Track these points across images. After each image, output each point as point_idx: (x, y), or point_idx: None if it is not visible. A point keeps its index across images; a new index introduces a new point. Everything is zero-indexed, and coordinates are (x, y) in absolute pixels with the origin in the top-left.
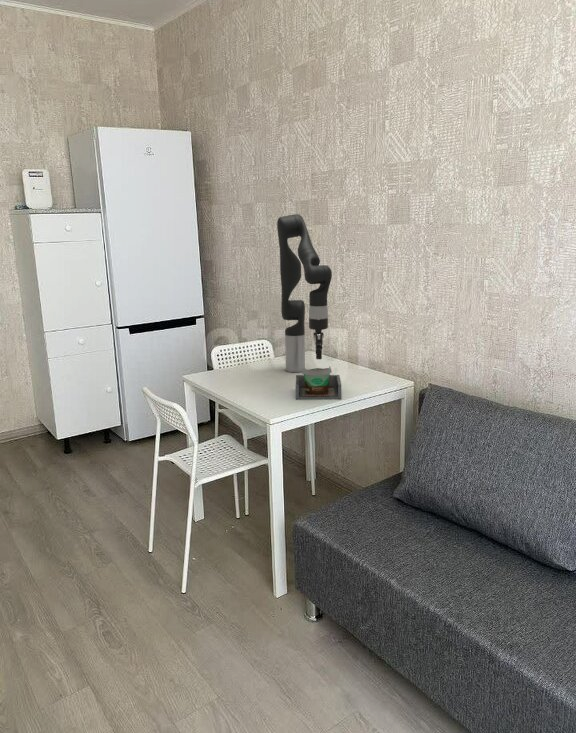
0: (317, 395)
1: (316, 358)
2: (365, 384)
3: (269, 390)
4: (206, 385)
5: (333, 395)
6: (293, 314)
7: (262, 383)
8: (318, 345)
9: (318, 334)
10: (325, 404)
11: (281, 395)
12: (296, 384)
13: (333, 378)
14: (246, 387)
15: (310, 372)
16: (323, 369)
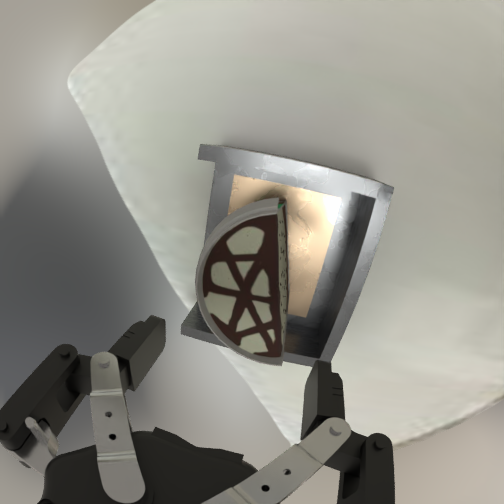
0: None
1: (150, 317)
2: None
3: (378, 68)
4: None
5: None
6: None
7: (471, 80)
8: (308, 427)
9: (3, 445)
10: (151, 240)
11: (293, 96)
12: (208, 149)
13: (323, 341)
14: (425, 13)
15: (208, 241)
16: (256, 324)
